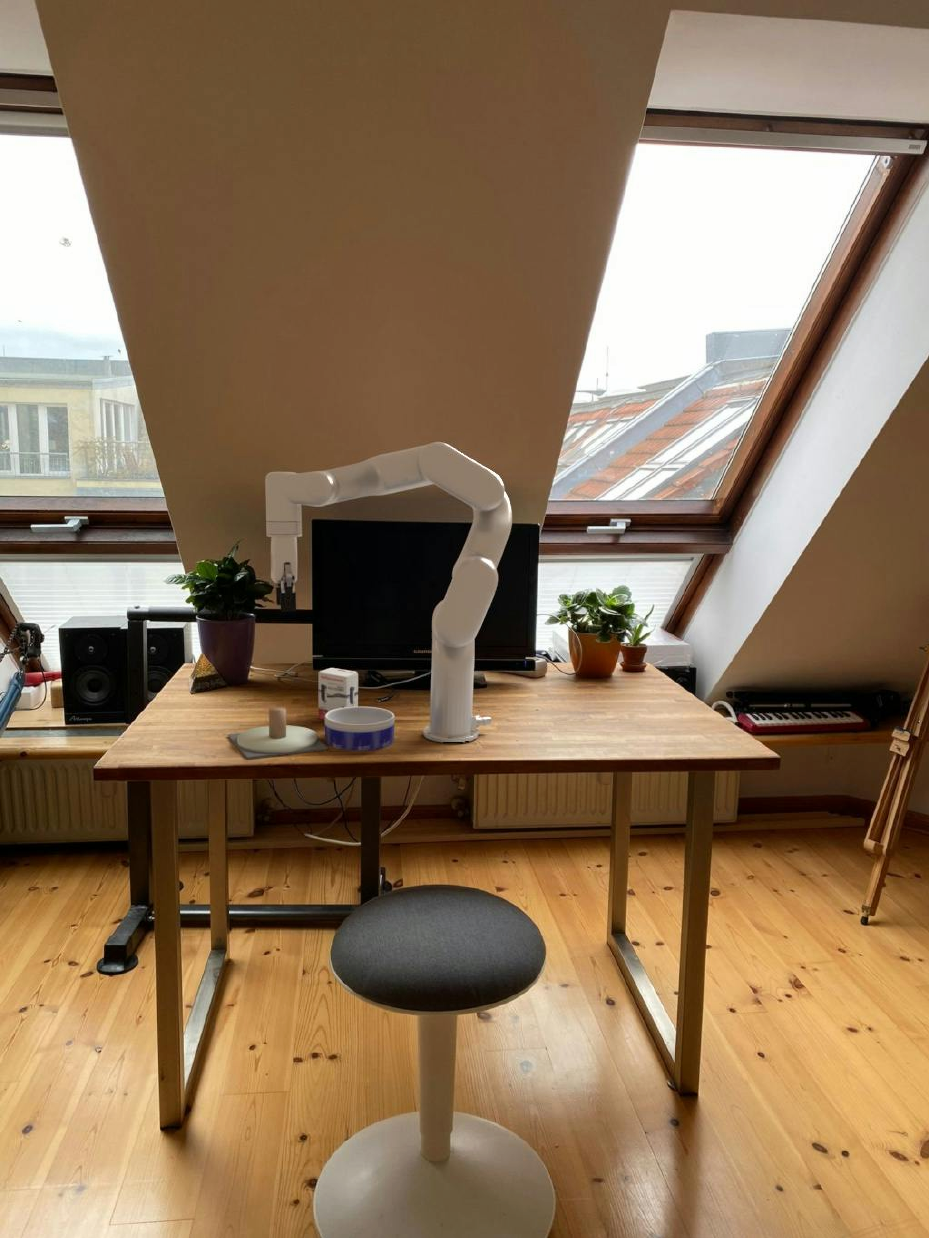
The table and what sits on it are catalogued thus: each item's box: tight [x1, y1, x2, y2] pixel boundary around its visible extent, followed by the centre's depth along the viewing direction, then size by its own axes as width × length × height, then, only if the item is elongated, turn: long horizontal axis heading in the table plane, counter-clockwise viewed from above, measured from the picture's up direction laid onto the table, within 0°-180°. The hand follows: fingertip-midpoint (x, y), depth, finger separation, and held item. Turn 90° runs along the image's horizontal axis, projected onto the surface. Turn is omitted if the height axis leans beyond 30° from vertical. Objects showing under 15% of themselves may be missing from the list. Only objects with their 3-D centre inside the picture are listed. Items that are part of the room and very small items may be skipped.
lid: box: [237, 707, 318, 753], centre depth 186 cm, size 17×17×7 cm
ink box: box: [317, 667, 359, 721], centre depth 206 cm, size 8×5×12 cm, turn 60°
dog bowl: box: [324, 705, 396, 752], centre depth 190 cm, size 15×15×6 cm
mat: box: [227, 725, 328, 760], centre depth 187 cm, size 17×17×1 cm
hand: (286, 607), depth 189 cm, fingers open, 9 cm apart
